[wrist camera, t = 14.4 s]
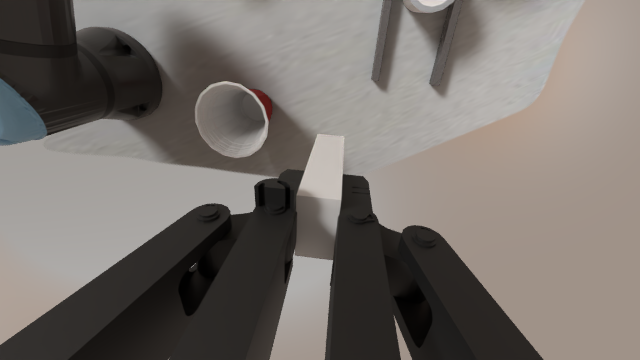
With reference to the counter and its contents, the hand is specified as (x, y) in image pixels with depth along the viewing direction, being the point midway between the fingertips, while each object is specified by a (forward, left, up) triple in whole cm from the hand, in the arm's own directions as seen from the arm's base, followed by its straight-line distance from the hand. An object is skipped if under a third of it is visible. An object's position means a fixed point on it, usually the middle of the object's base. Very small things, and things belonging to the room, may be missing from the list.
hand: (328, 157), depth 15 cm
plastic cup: (-15, -5, -33) cm, 36 cm away
